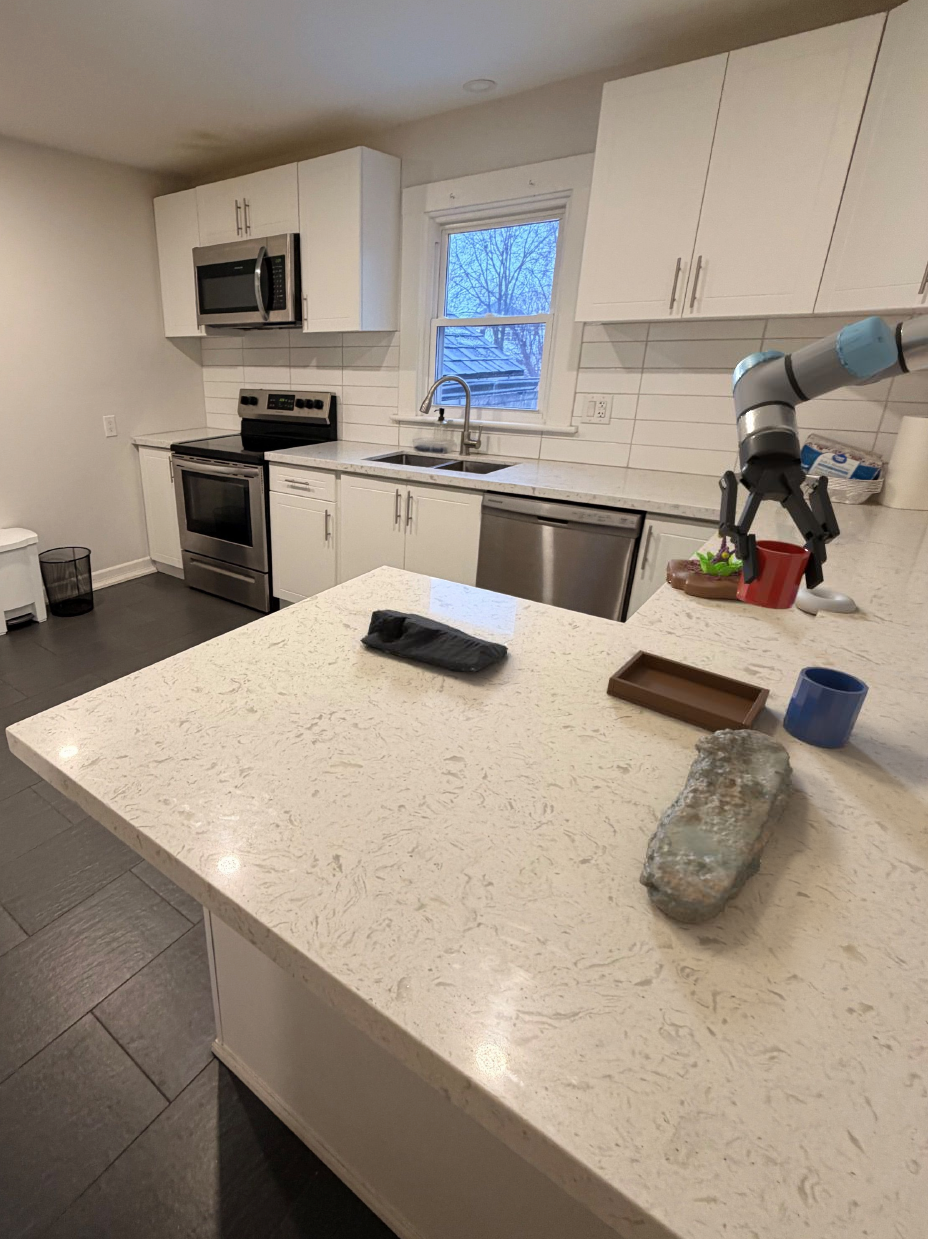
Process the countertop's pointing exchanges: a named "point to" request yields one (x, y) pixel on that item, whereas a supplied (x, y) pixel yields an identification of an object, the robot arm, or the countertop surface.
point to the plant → (707, 574)
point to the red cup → (776, 575)
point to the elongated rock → (717, 824)
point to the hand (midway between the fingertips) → (783, 582)
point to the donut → (824, 601)
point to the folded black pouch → (430, 641)
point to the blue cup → (824, 707)
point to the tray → (688, 693)
